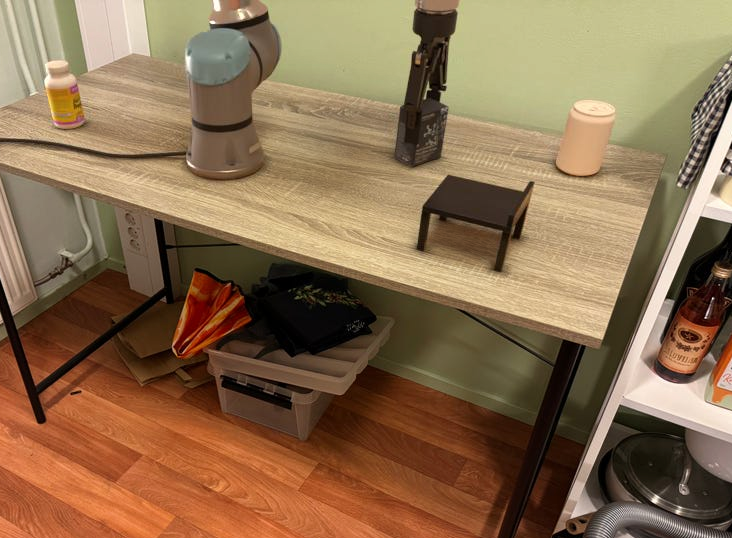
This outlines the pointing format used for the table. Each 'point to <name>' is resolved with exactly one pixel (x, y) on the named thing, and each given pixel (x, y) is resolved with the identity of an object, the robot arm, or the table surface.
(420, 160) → the box
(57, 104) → the supplement bottle
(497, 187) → the small dark brown table
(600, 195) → the table surface
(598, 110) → the beverage can
